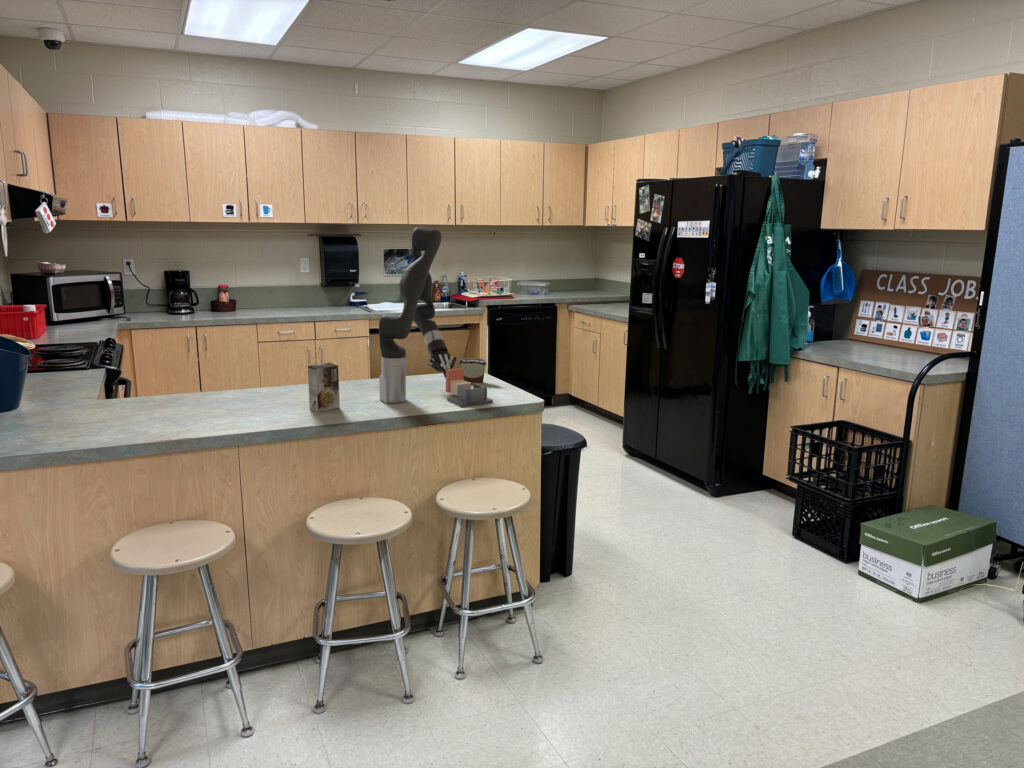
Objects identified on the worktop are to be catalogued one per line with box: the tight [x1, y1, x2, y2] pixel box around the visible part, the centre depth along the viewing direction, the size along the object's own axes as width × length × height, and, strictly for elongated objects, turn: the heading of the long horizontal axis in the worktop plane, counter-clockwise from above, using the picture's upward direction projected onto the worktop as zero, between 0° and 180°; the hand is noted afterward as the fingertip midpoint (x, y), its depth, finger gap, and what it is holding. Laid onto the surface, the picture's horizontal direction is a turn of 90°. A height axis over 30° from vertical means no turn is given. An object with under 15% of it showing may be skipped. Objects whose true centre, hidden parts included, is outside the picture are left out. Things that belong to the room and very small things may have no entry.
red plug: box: [445, 367, 472, 396], centre depth 279 cm, size 7×9×9 cm
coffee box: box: [307, 362, 341, 413], centre depth 256 cm, size 9×6×16 cm
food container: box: [457, 357, 488, 384], centre depth 306 cm, size 12×6×10 cm, turn 84°
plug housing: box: [446, 383, 494, 408], centre depth 273 cm, size 14×11×6 cm
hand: (449, 378), depth 285 cm, fingers closed
